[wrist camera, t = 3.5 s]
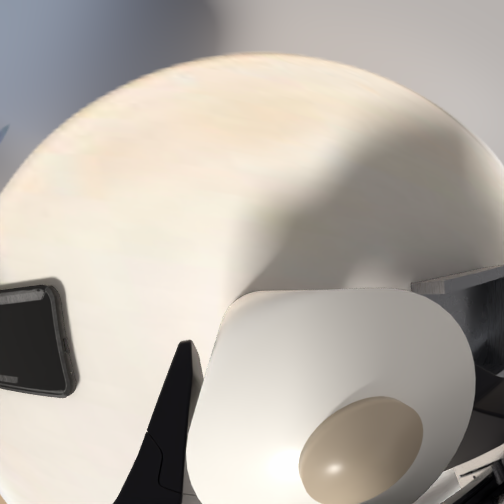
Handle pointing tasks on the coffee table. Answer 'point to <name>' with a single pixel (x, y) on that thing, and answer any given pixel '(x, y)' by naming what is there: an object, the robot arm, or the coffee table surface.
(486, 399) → the robot arm
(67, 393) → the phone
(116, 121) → the coffee table surface
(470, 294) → the tray
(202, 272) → the coffee table surface
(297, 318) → the paper roll
